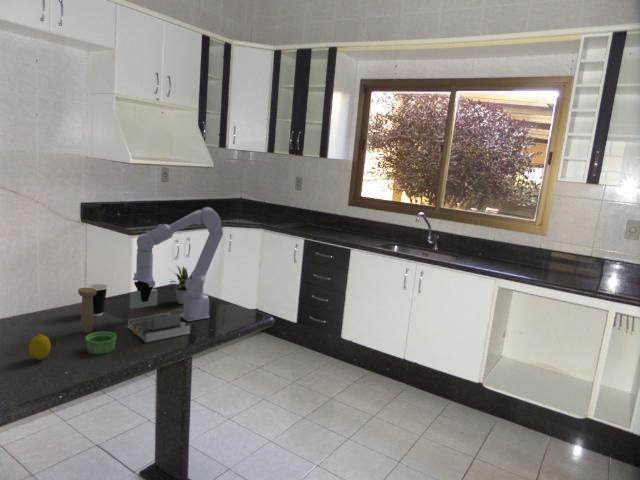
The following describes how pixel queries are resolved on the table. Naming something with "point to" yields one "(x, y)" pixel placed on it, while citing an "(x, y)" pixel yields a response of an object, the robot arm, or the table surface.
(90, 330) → the handle
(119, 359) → the table surface
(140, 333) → the rack
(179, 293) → the house plant
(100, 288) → the dixie cup
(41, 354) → the lemon
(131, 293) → the panel
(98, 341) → the ramekin
